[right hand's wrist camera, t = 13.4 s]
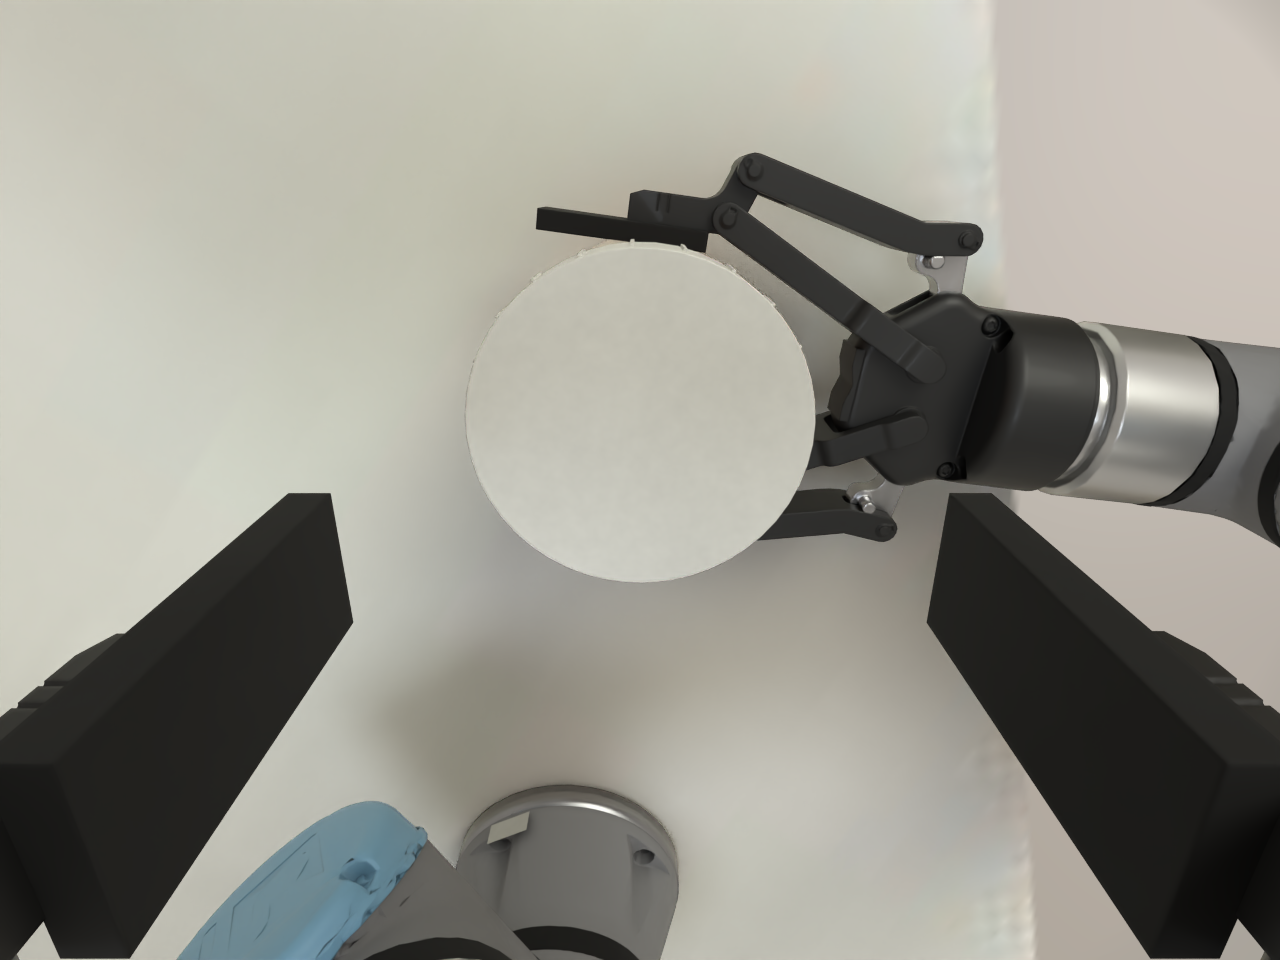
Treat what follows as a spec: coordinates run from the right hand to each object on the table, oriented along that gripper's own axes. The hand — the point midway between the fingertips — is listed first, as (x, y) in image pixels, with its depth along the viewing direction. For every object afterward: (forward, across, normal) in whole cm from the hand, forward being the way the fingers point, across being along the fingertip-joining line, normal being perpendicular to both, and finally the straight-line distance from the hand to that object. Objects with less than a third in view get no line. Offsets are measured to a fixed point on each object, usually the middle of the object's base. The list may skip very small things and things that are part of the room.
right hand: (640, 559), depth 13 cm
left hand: (+18, -4, +1) cm, 19 cm away
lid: (+8, 0, 0) cm, 8 cm away
